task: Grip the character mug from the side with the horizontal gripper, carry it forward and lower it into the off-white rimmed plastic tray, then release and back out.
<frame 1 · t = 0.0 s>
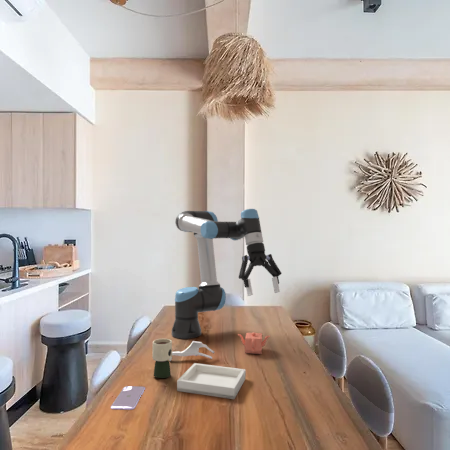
hand: (264, 294, 149), 28 cm above the table, tool tilted 20°, fingers open, 13 cm apart
teapot: (253, 352, 161), on the table
mobile phone: (128, 399, 117), on the table
tray: (212, 384, 127), on the table
character mug: (162, 376, 134), on the table
white flat pronged piece: (191, 360, 151), on the table
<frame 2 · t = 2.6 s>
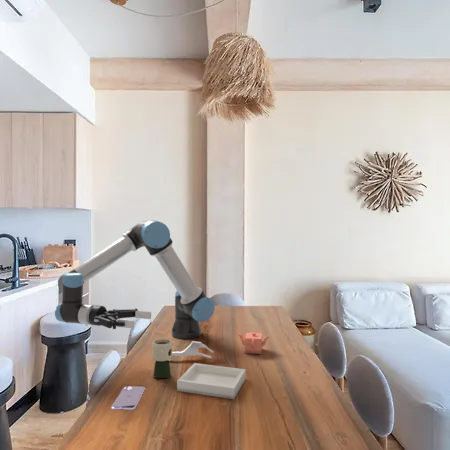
hand: (142, 319, 136), 20 cm above the table, tool horizontal, fingers open, 13 cm apart
nothing on the table moved.
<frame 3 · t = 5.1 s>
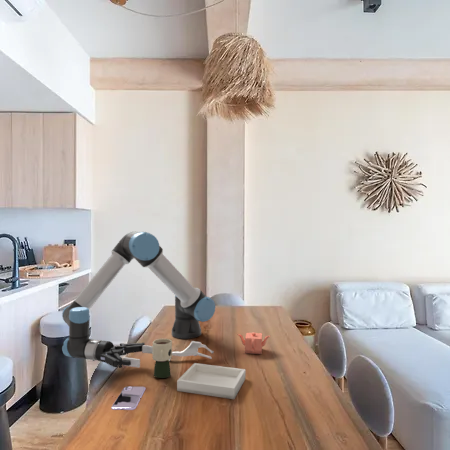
hand: (149, 356, 135), 7 cm above the table, tool horizontal, fingers open, 13 cm apart
nothing on the table moved.
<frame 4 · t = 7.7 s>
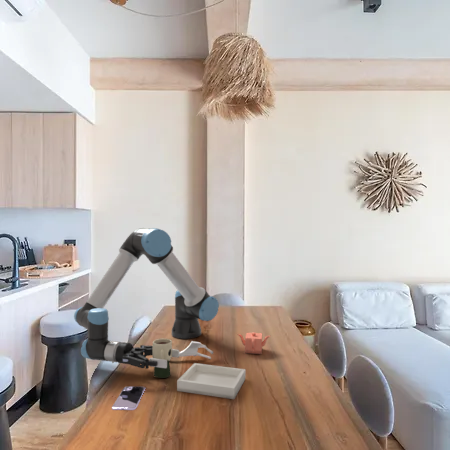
hand: (172, 358, 133), 7 cm above the table, tool horizontal, fingers closed on character mug, 10 cm apart
character mug: (162, 376, 134), on the table, touching gripper
everything else where it was.
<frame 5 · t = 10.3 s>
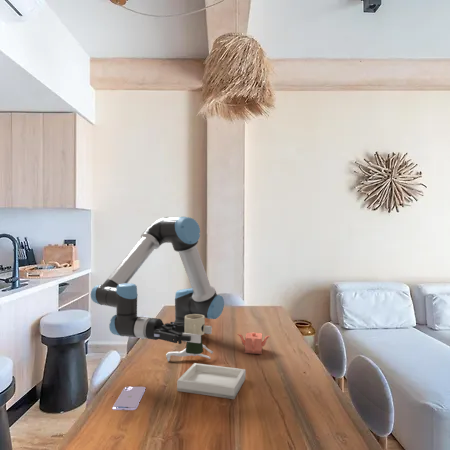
hand: (206, 334, 126), 18 cm above the table, tool horizontal, fingers closed on character mug, 10 cm apart
character mug: (194, 353, 128), point 11 cm above the table, touching gripper
everything else where it was.
when the fingers open (9 cm above the table, at t = 13.3 s): character mug drops 1 cm, resting on tray.
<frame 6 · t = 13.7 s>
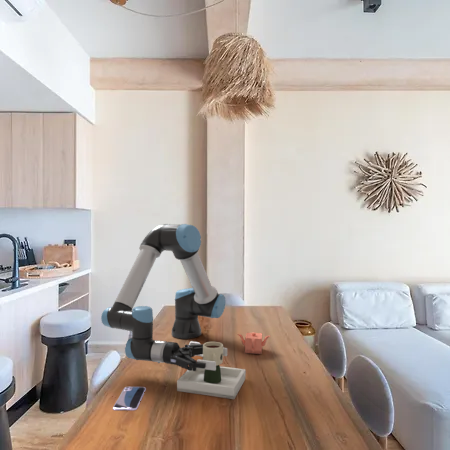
hand: (221, 358, 126), 9 cm above the table, tool horizontal, fingers open, 13 cm apart
character mug: (212, 382, 127), point 1 cm above the table, touching tray
everything else where it was.
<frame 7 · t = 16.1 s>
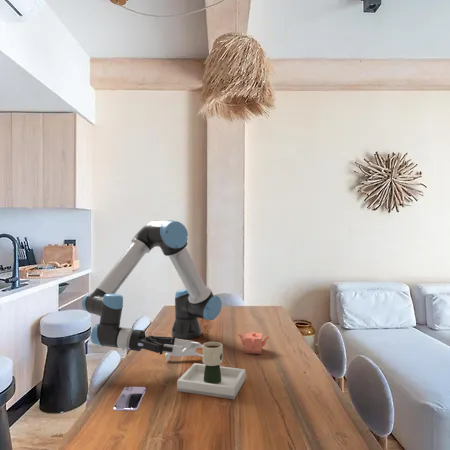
hand: (186, 347, 133), 11 cm above the table, tool horizontal, fingers open, 13 cm apart
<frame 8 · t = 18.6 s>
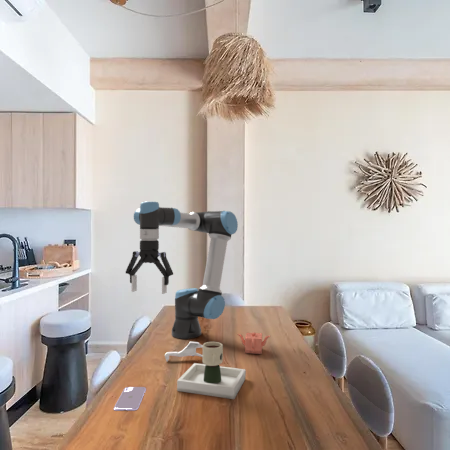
hand: (149, 292, 146), 29 cm above the table, tool pointing down, fingers open, 13 cm apart
at the end: character mug inside the target area on the tray (0.1 cm from its centre), point 0.8 cm above the tray's base; character mug tilted 0°; the gripper is holding nothing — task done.
